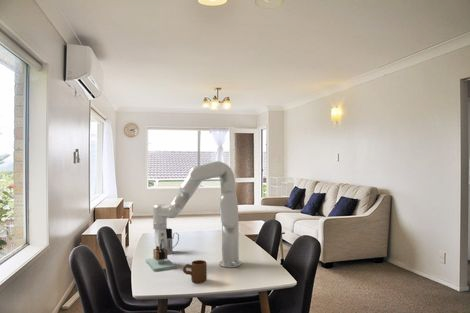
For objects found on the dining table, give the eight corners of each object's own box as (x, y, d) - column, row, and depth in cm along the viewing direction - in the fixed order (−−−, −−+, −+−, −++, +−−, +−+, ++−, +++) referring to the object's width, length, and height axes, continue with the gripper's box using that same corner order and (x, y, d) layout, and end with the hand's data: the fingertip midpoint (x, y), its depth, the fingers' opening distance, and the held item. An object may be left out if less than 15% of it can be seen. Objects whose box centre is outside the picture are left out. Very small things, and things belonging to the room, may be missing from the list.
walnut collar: (167, 258, 200) (167, 250, 200) (156, 260, 197) (156, 251, 197) (164, 256, 206) (164, 247, 206) (153, 257, 203) (153, 249, 203)
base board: (175, 268, 195) (175, 265, 195) (154, 271, 190) (154, 268, 190) (165, 259, 213) (165, 256, 213) (145, 262, 208) (145, 259, 208)
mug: (184, 286, 168) (184, 266, 168) (181, 280, 175) (180, 262, 175) (208, 282, 173) (208, 263, 173) (204, 277, 180) (204, 259, 180)
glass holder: (165, 250, 234) (164, 227, 234) (182, 252, 227) (182, 229, 228) (156, 253, 226) (156, 230, 226) (174, 256, 220) (174, 232, 220)
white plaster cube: (164, 262, 201) (164, 255, 201) (157, 263, 199) (157, 256, 199) (162, 261, 204) (162, 254, 204) (156, 262, 202) (156, 255, 202)
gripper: (170, 228, 196) (171, 260, 196) (162, 223, 211) (162, 253, 211) (157, 229, 192) (157, 262, 192) (149, 224, 208) (150, 254, 208)
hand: (160, 257), depth 202 cm, fingers closed on walnut collar, 6 cm apart
